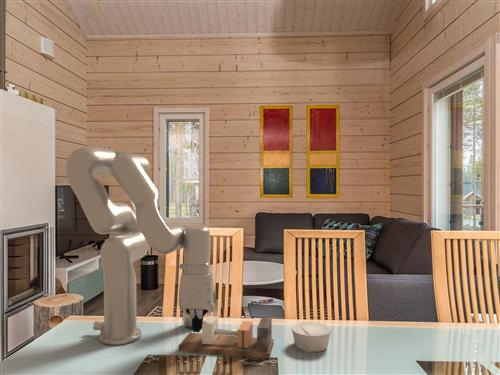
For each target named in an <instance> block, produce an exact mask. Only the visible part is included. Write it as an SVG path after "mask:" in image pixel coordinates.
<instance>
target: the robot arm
mask: <svg viewBox="0 0 500 375" xmlns="http://www.w3.org/2000/svg"><path fill="white" fill-rule="evenodd" d="M150 174H151V165H150V162H149V161H148V159H147V158H146V157H144V156H143V155H140V154H137V153H132V152H131V153H130V152H125V151H121V150H116V149H111V148H105V147H97V146H96V147H95V146H80V147H79V148H76V149H74V150H73V151H72V152H71V153H70V155H69V156H68V158H67V161H66V164H65V176H66V180H67V182H68V184H69V186H70V188H71V189H72V192H73V193H74V195H75V196H76V198H77V200H78V201H79V204H80V207H81V208H82V210H83V212H84V215H85V216H86V218H87V221H88V223H89V225H90V226H91V228H92V230H93V231H94V233H97V234H99V235H108V234H114V235H113V236H111V237H108V238H107V239H106V240H105V241H104V242H103V244H102V245H101V248H100V262H101V265H102V271H103V272H102V273H103V321H102V320H101V321H100V320H99V321H98V320H95V321H94V322H93V327H92V329H93V330H94V331H100V333H99V334H98V341H99V342H101V343H102V344H104V345H111V346H112V345H114V346H115V345H116V346H117V345H118V346H119V345H125V344H129V343H130V344H131V343H132V342H133V343H134V342H135V341H137V340H138V339H140V338H141V337H142V334H143V333H142V329H141V328H139V327H137V275H136V274H137V273H136V271H135V267H134V264H133V263H134V262H136V261H138V260H140V259H142V258H144V257H145V256H146V255H147V253H148V252H149V246H150V248H152V249H153V251H155V252H156V253H158V254H159V255H168V254H171V253H173V252H175V251H179V250H181V249H183V259H184V261H183V263H182V264H181V263H180V264H179V269H180V270H181V269H182V270H183V272H182V273H181V274H180V280H179V288H178V306H179V310H180V311H182V312H184V311H186V312H187V313H188V314H189V315H190V317H191V318H192V328H191V329H193V332H192V333H200V332H201V331H202V323H203V322H204V317H205V316H206V315H207V314H211V313H214V312H216V305H215V304H216V291H215V290H216V287H215V281H214V276H213V273H212V272H211V232H210V229H209V227H207V226H203V225H202V226H201V225H193V226H192V225H191V226H188V225H182V224H171V225H166V222H165V221H164V220H163V218H162V217H161V215H160V212H159V210H158V205H157V204H158V203H157V202H158V198H159V194H160V193H159V192H160V191H159V189H158V188H157V187H156V185H155V184H154V182H153V181H152V179H151V178H150V177H149V176H150ZM96 175H107V176H113V177H114V178H115V180H116V181H117V183H118V185H119V186H120V188H121V189H122V191H123V192H124V194H125V195H126V197H127V198H128V200H129V201H130V203H131V204H132V206H133V208H134V210H133V209H132V208H131V207H130V206H129V205H128V204H126V203H125V202H121V201H112V199H111V197H110V195H109V194H108V191H107V190H106V188H105V186H104V185H103V183H101V182H100V180H99V179H98V178H97V177H96ZM196 309H198V310H199V313H198V315H197V310H196Z"/></svg>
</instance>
